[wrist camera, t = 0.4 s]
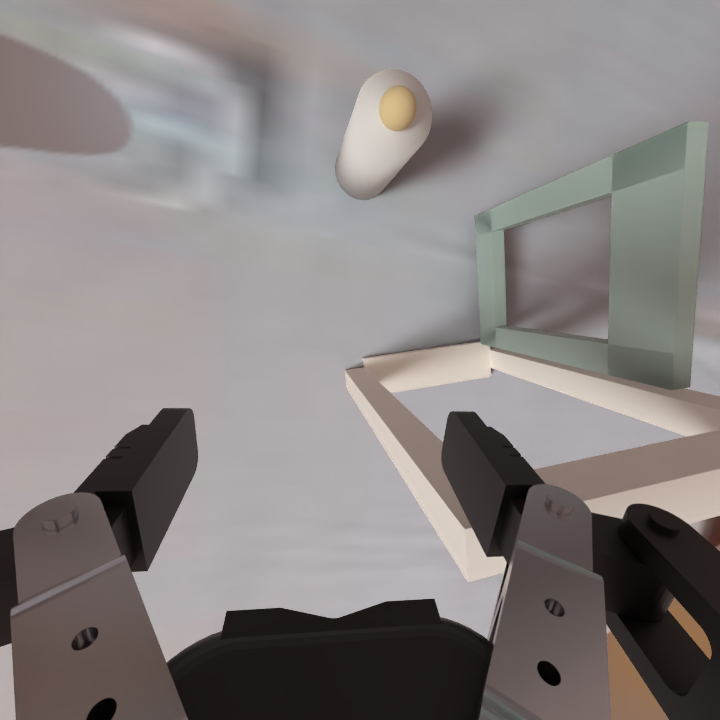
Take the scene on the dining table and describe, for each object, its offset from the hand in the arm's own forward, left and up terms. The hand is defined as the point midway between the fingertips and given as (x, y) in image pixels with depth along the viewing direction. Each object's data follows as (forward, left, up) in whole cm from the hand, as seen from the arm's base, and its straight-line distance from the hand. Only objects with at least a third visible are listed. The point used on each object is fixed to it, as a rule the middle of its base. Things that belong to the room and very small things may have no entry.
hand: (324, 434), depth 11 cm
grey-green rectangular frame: (-4, +20, -24) cm, 32 cm away
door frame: (+5, +13, -25) cm, 29 cm away
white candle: (-15, +8, -25) cm, 31 cm away
